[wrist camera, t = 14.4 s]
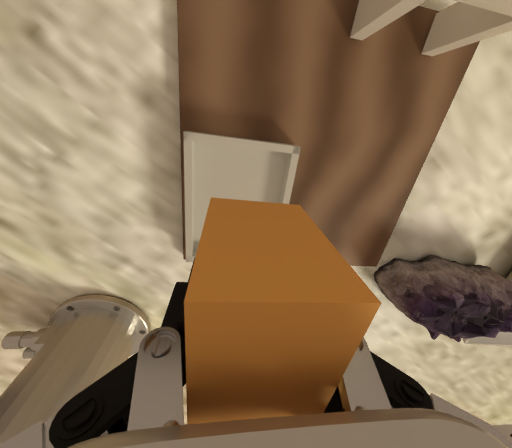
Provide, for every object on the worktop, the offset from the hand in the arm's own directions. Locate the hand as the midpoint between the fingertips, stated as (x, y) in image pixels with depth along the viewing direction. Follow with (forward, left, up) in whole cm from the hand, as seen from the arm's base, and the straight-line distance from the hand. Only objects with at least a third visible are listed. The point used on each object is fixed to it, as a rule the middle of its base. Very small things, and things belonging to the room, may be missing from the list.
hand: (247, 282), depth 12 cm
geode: (+32, -12, -15) cm, 37 cm away
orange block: (0, 0, -1) cm, 1 cm away
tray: (0, 0, -13) cm, 13 cm away
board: (+7, +5, -14) cm, 17 cm away
